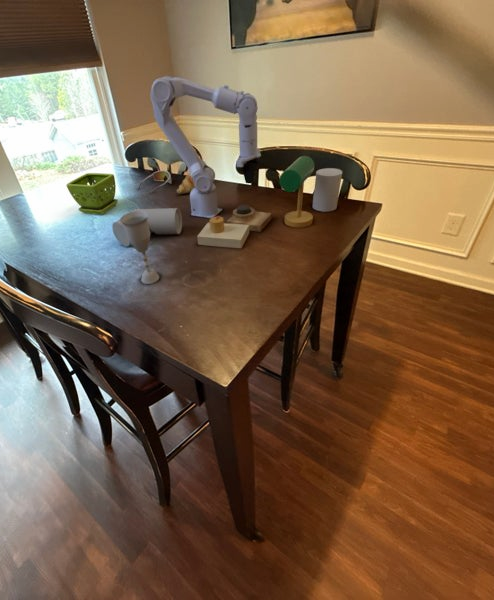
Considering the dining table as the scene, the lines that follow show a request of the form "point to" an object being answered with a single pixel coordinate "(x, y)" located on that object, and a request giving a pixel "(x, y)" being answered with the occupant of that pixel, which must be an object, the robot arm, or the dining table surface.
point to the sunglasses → (159, 178)
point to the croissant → (186, 185)
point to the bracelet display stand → (290, 183)
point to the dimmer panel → (224, 236)
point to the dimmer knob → (217, 224)
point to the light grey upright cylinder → (326, 189)
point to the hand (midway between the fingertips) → (249, 182)
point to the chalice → (139, 240)
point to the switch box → (251, 219)
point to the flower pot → (94, 192)
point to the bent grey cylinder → (153, 223)
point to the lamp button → (243, 209)
